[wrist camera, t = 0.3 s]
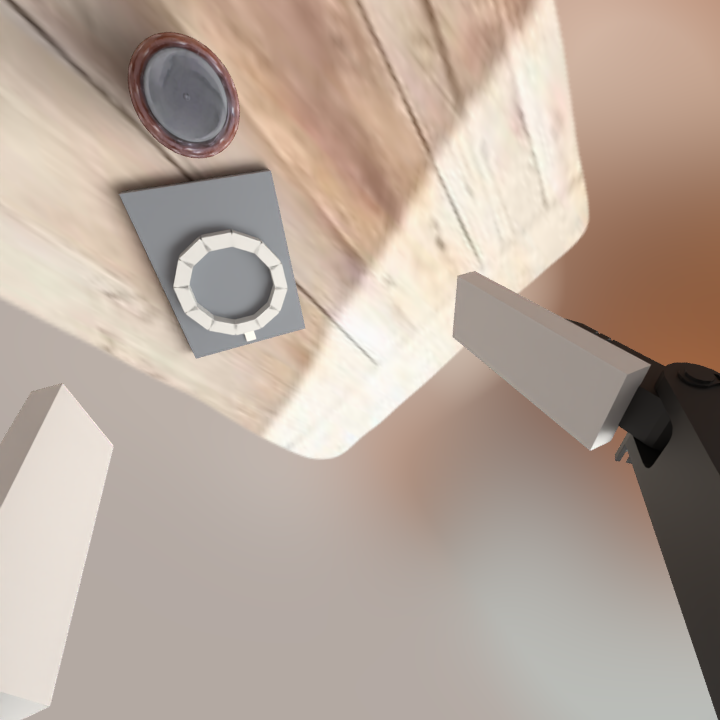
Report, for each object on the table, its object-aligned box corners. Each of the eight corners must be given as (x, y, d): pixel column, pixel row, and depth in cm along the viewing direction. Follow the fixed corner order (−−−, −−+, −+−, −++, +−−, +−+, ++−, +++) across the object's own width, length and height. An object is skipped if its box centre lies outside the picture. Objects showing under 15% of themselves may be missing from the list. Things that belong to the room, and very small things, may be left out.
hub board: (121, 191, 28) (116, 196, 26) (268, 169, 31) (273, 172, 29) (195, 352, 37) (196, 364, 35) (302, 323, 40) (307, 333, 38)
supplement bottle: (141, 135, 26) (115, 139, 18) (143, 37, 24) (114, -14, 15) (224, 161, 29) (237, 176, 20) (234, 77, 27) (253, 53, 18)
